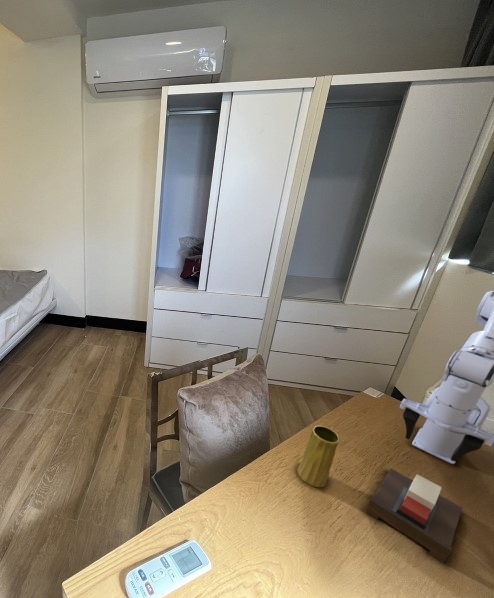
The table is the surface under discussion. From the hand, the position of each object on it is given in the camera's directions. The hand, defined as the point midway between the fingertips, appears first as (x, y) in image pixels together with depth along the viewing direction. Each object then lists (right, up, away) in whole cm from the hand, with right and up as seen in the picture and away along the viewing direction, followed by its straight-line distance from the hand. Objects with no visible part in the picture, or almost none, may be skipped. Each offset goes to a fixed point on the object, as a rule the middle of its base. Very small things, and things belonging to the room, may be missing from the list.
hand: (429, 447), depth 73 cm
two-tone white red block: (-9, -11, -6) cm, 15 cm away
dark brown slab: (-9, -12, -5) cm, 16 cm away
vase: (-25, -10, +4) cm, 28 cm away
